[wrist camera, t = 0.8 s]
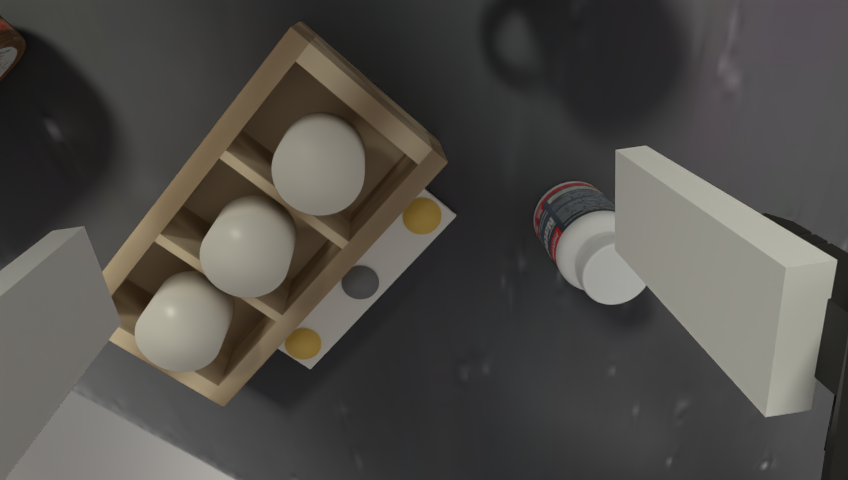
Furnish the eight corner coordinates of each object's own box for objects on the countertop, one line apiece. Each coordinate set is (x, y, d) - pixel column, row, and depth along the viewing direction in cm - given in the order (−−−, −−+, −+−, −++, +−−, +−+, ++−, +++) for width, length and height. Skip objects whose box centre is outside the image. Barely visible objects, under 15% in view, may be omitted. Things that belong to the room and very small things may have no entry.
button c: (264, 157, 34) (252, 177, 31) (316, 93, 33) (309, 107, 30) (330, 207, 36) (326, 232, 32) (382, 148, 35) (383, 167, 31)
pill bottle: (522, 195, 40) (560, 250, 32) (596, 168, 40) (652, 216, 32) (543, 260, 43) (584, 326, 34) (613, 235, 42) (670, 296, 34)
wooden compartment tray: (102, 278, 40) (68, 316, 36) (301, 20, 35) (290, 26, 30) (239, 362, 44) (223, 407, 39) (439, 140, 38) (448, 162, 34)
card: (271, 340, 43) (270, 345, 43) (416, 181, 39) (416, 183, 39) (310, 366, 44) (310, 370, 44) (455, 213, 40) (456, 216, 40)
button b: (200, 237, 36) (182, 264, 32) (247, 179, 35) (233, 201, 31) (266, 281, 37) (255, 312, 34) (313, 227, 36) (306, 254, 33)
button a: (141, 309, 38) (118, 343, 34) (184, 256, 36) (164, 285, 33) (207, 349, 39) (190, 385, 36) (250, 300, 38) (237, 332, 34)
